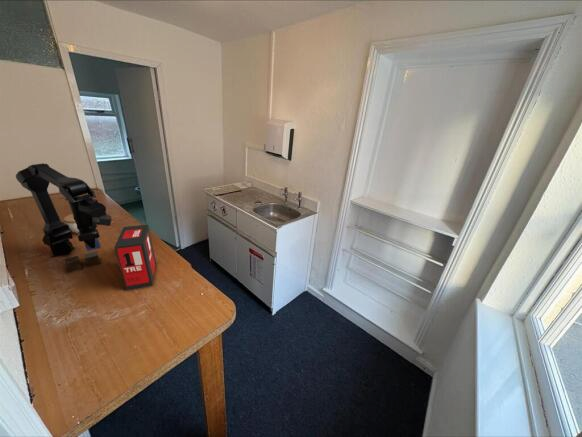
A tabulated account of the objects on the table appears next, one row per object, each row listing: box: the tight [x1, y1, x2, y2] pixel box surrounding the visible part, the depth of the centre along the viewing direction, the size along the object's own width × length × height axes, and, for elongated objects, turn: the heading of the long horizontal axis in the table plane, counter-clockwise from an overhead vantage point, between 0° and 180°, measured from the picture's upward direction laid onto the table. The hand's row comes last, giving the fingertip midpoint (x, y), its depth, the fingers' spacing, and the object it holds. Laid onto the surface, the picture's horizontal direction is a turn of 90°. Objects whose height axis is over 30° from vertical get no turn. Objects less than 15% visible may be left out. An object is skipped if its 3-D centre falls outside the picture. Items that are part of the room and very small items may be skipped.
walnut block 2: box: [84, 250, 101, 267], centre depth 104 cm, size 4×4×4 cm
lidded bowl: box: [63, 213, 79, 234], centre depth 127 cm, size 13×13×11 cm
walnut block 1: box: [64, 255, 83, 273], centre depth 100 cm, size 4×4×4 cm
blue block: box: [83, 238, 101, 252], centre depth 98 cm, size 4×4×4 cm
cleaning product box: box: [114, 224, 157, 291], centre depth 96 cm, size 16×9×20 cm, turn 23°
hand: (93, 245), depth 99 cm, fingers closed on blue block, 4 cm apart
